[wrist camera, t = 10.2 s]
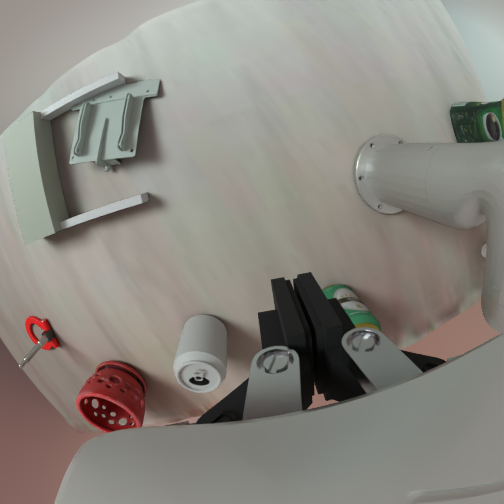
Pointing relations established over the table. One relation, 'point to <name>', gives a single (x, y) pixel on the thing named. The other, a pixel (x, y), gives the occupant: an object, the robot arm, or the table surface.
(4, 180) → the table surface
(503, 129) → the coffee jar
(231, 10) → the table surface
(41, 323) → the tow hook
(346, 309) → the beverage can
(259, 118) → the table surface
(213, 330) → the can
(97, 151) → the metal bracket
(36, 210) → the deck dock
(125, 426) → the plant pot
